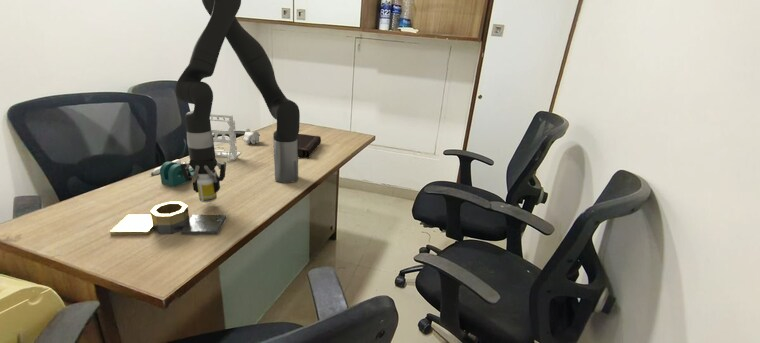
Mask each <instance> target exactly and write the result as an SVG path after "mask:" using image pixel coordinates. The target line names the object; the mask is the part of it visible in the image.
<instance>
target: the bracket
mask: <svg viewBox="0 0 760 343" xmlns="http://www.w3.org/2000/svg"><path fill="white" fill-rule="evenodd" d="M181 164H182V163H181ZM181 164H177V163H174V162H172V161H165V162H163V163H162V164H161V168H160V173H159V174H160V180H161V184H163V185H166V186H170V187H173V188H175V187H178V186H181V185H183V184H186V183H189V182H190V181H186V180H185V177H184V175H183V172H182V169H181V167H180V165H181ZM189 170H190V173H191V176H193V173H194V169H193V168H192V167H189ZM198 179H199V176H198Z"/></svg>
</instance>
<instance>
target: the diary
mask: <svg viewBox="0 0 760 343" xmlns="http://www.w3.org/2000/svg"><path fill="white" fill-rule="evenodd" d="M321 142H322V139H321V135H310V134H304V133H303V134H302V133H298V136H297V150H298V157H300V159H309V158H310V157H311V155H312V154H313V153H314V152H315V151H316V150H317V148H318V147H319V146H320V144H321ZM273 148H274V145H273Z"/></svg>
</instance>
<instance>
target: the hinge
mask: <svg viewBox="0 0 760 343" xmlns="http://www.w3.org/2000/svg"><path fill="white" fill-rule="evenodd" d="M149 212H150V214H127V215H126V216H125V217H124V218H123V219H122V220H120V221H119V222H118V224H116V225H115V226H114V227H113V228H112V229H111V230H110V231H109V233H110V236H149V235H150V234H151V233H152V231H154V232H155V233H157V234H158V235H174V234H176V233H181V235H182V236H184V235H186V236H190V235H191V236H193V235H194V236H199V235H200V236H201V235H204V236H206V235H207V236H209V235H211V236H212V235H214V236H215V235H218V234H219V233H220V230H221V228H222V227H223V226H224V223H225V221H226V219H227V215H226V214H192V215H191V216H190V215H189V214H190V212H189V208H188V205H187V204H185V203H184V202H182V201H168V202H163V203H160V204H157V205H155V206H154V207H153V208H152V209H151V210H150V211H149Z"/></svg>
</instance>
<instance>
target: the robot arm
mask: <svg viewBox="0 0 760 343" xmlns="http://www.w3.org/2000/svg"><path fill="white" fill-rule="evenodd" d="M201 3H202V5H203V6H204V8H205V10H206V12H207V13H208V14H209V16H210V18H209V20H208V22H207V24H206V26H205V27H204V29H203V30H202V32H201V33H200V35H199V37H198V38H197V40H196V42H195V44H194V46H193V50H192V52H191V56H190V58H189V59H190V60H189V62H188V64H187V66H186V68H184V70H183V71H182V73H181V75H180V76H179V78H178V80H177V81H176V84H175V88H174V90H175V91H174V92H175V96H176V98H177V99H178V100H179V101H180V102H182V103H185V104H191V105H193V106H194V107H193V110H191V111H188V112H186V113H185V116H184V121H185V128H186V145H187V148H188V155H189V156H188V157H189V161H187V162H186V161H183V162H181V165H180V167H181V169H182V172H183V175H184V177H185V180H186V181H189V182H191V183H192V189H193V191H195V193H198V186H197V180H198V179H199V178H198V173H199V174H209V176H210V177H211V178H212V179H213V181H214V191H215V192H216V193H218V192H219V191H220V190H221V186H220V185H221V183H220V182H222V181H223V180H224V179H225V178H226V170H227V169H226V168H227V162H225V161H223V162H220V161H218V160H217V159H216V156H215V150H216V149H215V142H214V141H213V138H214V136H213V133H212V131H211V129H212V126H211V120H210V119H211V117H210V114H212V108H213V102H214V92H213V90H212V88H211V86H210V85H209V84H208V83H207V82H205V81H202V80H203V79H206V78H209V77H211V76H213V74H214V73H215V72H214V71H215V68H216V66H217V63H218V60H219V55H220V53H221V52H220V51H221V49H222V46H223V44H224V42H225V40H227V42H228V43H229V45H230V47H231V48H232V50H233V52H234V53H235V54H236V56H237V58H238V60H239V62H240V63H241V65H242V67H243V69H244V70H245V72H246V73H247V75H248V77H249V78H250V79H251V81H252V82H253V84H254V86H255V87H256V88H257V90H259V93H260V94H261V96H262V98H263V100H264V103H265V105H266V107H267V109H268V110H269V114H270V115H271V116H272V118H274V119H275V120H276V130H275V131H274V132H273V134H272V135H273V146H274V147H273V159H274V160H273V164H274V180H275V181H276V182H278V183H282V184H289V183H293V182H294V183H297V182H298V180H299V158H298V150H297V136H298V134H300V122H301V121H300V119H301V116H300V114H301V113H300V109H299V105H298V104H297V103H296V102H295V101H293V100H291V99H288V98H287V96H286V95H285V94H284V92H283V91H282V90H281V88H280V86H279V85H278V81H277V79H276V76H275V71H274V68H273V64H272V62H271V60H270V58H269V55H268V54H267V53H266V51H265V49H264V47H263V46H262V44H261V43H260V42H259V41H258V40H257V39H256V38H255V37H254V36H252V35H251V34H250V33H249V32H248V31H247V30H245V28H244V27H243V26H242V25H241V23H240V22H239V20H238V18H237V17H236V16H237V14H238V12H239V10H240V8H241V4H242V0H201ZM216 167H218V170H219V174H218V173H217V170H216ZM189 168H193V169H194V173H193V176H191V173H190V170H189Z"/></svg>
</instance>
